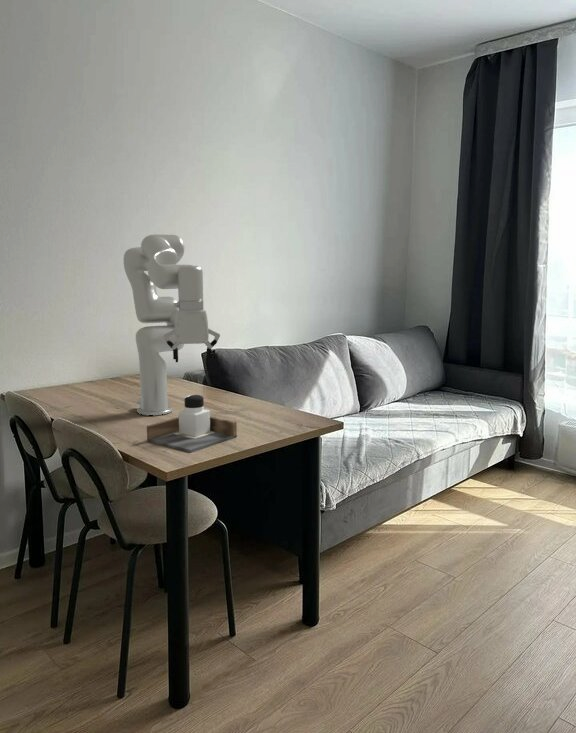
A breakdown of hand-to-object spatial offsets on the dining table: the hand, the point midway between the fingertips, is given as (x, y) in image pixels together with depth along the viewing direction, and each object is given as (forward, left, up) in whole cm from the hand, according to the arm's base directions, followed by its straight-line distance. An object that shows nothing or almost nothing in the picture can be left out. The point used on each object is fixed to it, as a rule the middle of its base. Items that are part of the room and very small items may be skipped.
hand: (192, 361), depth 195 cm
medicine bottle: (0, 0, -23) cm, 23 cm away
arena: (+2, -3, -24) cm, 24 cm away
